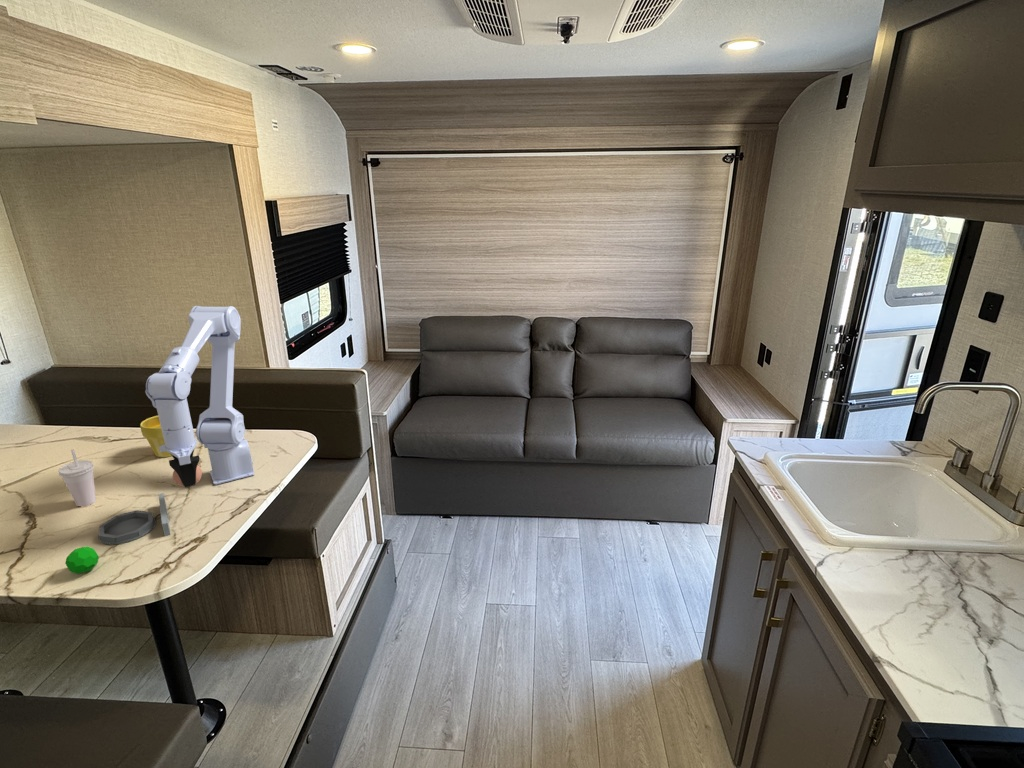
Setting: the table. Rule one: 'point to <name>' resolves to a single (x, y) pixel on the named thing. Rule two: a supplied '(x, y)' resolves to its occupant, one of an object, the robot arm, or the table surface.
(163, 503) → the low wall
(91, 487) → the smoothie
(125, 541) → the gray octagonal bowl
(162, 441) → the plant pot
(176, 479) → the ball
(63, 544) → the table surface
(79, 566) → the polyhedron
